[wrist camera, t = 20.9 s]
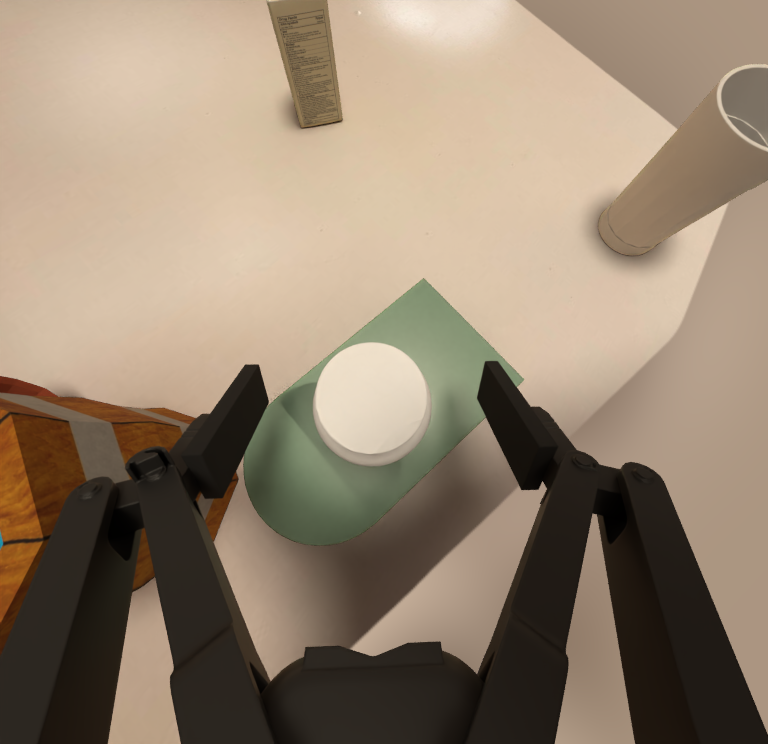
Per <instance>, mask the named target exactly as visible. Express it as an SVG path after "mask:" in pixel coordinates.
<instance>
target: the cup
mask: <svg viewBox="0 0 768 744" xmlns="http://www.w3.org/2000/svg"><path fill="white" fill-rule="evenodd" d="M767 180H768V65H764V64H752V65H746V66H741V67H738V68H736V69H734V70H732V71H730V72H729V73H727V74H726V75H725V76H724V77H723V78H722V79H721V81H720V82H719V83H718V84H717V85H716V86H715V87H714V89H713V90H712V91H711V92H710V93H709V94H708V95H707V97H706V98H705V99H704V100H703V101H702V103H701V104H700V105H699V106H698V107H697V108H696V109H695V110H694V111H693V113H692V114H691V115H690V116H689V117H688V118H687V120H686V121H685V122H684V123H683V124H682V125H681V126H680V128H679V129H678V130H677V131H676V132H675V133H674V134H673V136H672V137H671V138H670V139H669V140H668V141H667V142H666V143H665V145H664V146H663V147H662V148H661V149H660V150H659V151H658V152H657V154H656V155H655V156H654V157H653V158H652V159H651V160H650V161H649V163H648V164H647V165H646V166H645V167H644V168H643V169H642V170H641V172H640V173H639V174H638V175H637V176H636V177H635V178H634V179H633V181H632V182H631V183H630V184H629V185H628V186H627V187H626V188H625V190H624V191H623V192H622V193H621V194H620V195H619V196H618V197H617V199H616V200H615V201H614V202H613V203H612V204H611V205H610V206H609V207H608V208H607V209H606V210H605V211H604V212H603V213H602V214H601V216H600V218H599V222H598V228H599V232H600V235H601V237H602V239H603V240H604V242H605V243H606V244H607V245H608V246H609V247H610V248H612V249H613V250H615V251H617V252H619V253H621V254H624V255H630V256H636V255H641V254H644V253H646V252H648V251H649V250H651V249H652V248H653V247H655V246H656V245H658V244H659V243H661V242H662V241H663V240H665V239H667V238H668V237H670V236H672V235H673V234H675V233H677V232H678V231H680V230H682V229H683V228H685V227H687V226H689V225H690V224H692V223H694V222H695V221H697V220H699V219H700V218H702V217H704V216H705V215H707V214H709V213H711V212H712V211H714V210H716V209H717V208H719V207H721V206H722V205H724V204H726V203H727V202H729V201H731V200H732V199H734V198H736V197H737V196H739V195H741V194H742V193H744V192H746V191H748V190H750V189H753V188H755V187H757V186H758V185H760V184H762V183H764V182H765V181H767Z"/></svg>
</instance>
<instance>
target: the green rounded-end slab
mask: <svg viewBox="0 0 768 744" xmlns="http://www.w3.org/2000/svg"><path fill="white" fill-rule="evenodd" d="M368 342H375V343H383V344H387V345H390V346H393V347H395V348H397V349H399V350H401V351H402V352H404V353H405V354H406V355H408V356H409V357H410V358H411V359H412V360H413V361H414V362H415V364H416V365H417V366H418V368H419V369H420V371H421V373H422V374H423V376H424V378H425V380H426V382H427V384H428V387H429V390H430V394H431V403H432V409H431V417H430V422H429V425H428V428H427V430H426V432H425V434H424V436H423V438H422V439H421V441H420V442H419V444H418V445H417V446H416V447H415V448H414V449H413V450H412V451H411V452H410V453H409V454H407V455H406V456H405V457H403V458H401V459H400V460H398V461H395V462H393V463H390V464H387V465H383V466H373V467H370V466H361V465H357V464H353V463H351V462H348V461H346V460H344V459H342V458H341V457H339V456H338V455H336V454H335V453H334V452H333V451H332V450H330V449H329V448H328V446H327V445H326V444H325V443H324V442H323V440H322V438H321V437H320V435H319V433H318V430H317V428H316V425H315V422H314V417H313V397H314V393H315V389H316V386H317V382H318V379H319V377H320V375H321V373H322V371H323V369H324V368H325V366H326V365H327V363H328V362H329V361H330V360H331V359H332V358H333V357H334V356H335V355H337V354H338V353H339V352H341V351H342V350H344V349H346V348H348V347H350V346H353V345H356V344H360V343H368ZM485 361H498V362H499V363H500V365H501V366H502V367H503V369H504V370H505V372H506V373H507V374H508V376H509V377H510V379H511V380H512V381H513V383H514V384H515V386H516V387H517V386H519V385H520V384H521V383H522V382H523V381H524V379H523V378H522V377H521V376H520V375H519V374H518V373H517V372H516V371H515V370H514V369H513V368H512V367H511V366H510V365H509V364H508V363H507V362H506V361H505V360H504V359H503V358H502V357H501V356H500V355H499V354H498V353H497V352H496V350H495V349H494V348H493V347H492V346H491V345H490V344H489V343H488V342H487V341H486V340H485V339H484V338H483V337H482V336H481V335H480V334H479V333H478V332H477V331H476V330H475V329H474V328H473V327H472V326H471V325H470V324H469V323H468V322H467V321H466V320H465V319H464V318H463V317H462V316H461V315H460V314H459V313H458V312H457V311H456V310H455V309H454V308H453V307H452V306H451V305H450V304H449V303H448V302H447V301H446V300H445V299H444V298H443V297H442V296H441V295H440V294H439V293H438V292H437V291H436V290H435V289H434V288H433V287H432V286H431V285H430V284H429V283H428V282H427V281H426V280H425V279H424V278H423V279H422V280H421V281H420V282H418V283H417V284H416V285H415V286H414V287H412V288H411V289H410V290H409V291H407V292H406V293H405V294H404V295H402V296H401V297H400V298H399V299H398V300H396V301H395V302H394V303H393V304H391V305H390V306H389V307H388V308H387V309H385V310H384V311H383V312H382V313H380V314H379V315H378V316H377V317H375V318H374V319H373V320H372V321H371V322H369V323H368V324H367V325H366V326H364V327H363V328H362V329H361V330H359V331H358V332H357V333H356V334H355V335H353V336H352V337H351V338H350V339H348V340H347V341H346V342H345V343H344V344H342V345H341V346H340V347H339V348H337V349H336V350H335V351H334V352H332V353H331V354H330V355H329V356H328V357H326V358H325V359H324V360H323V361H321V362H320V363H319V364H318V365H317V366H315V367H314V368H313V369H312V370H310V371H309V372H308V373H307V374H305V375H304V376H303V377H302V378H301V379H299V380H298V381H297V382H296V383H294V384H293V385H292V386H291V387H290V388H288V389H287V390H286V391H285V392H283V393H282V394H281V395H280V396H278V397H277V398H276V399H275V400H274V401H273V402H272V403H271V404H270V405H269V406H268V407H267V408H266V409H265V411H264V414H263V416H262V418H261V420H260V422H259V424H258V426H257V428H256V430H255V432H254V434H253V437H252V439H251V441H250V443H249V445H248V447H247V449H246V451H245V453H244V464H243V465H244V479H245V485H246V489H247V492H248V495H249V498H250V500H251V502H252V504H253V506H254V508H255V510H256V511H257V513H258V514H259V516H260V517H261V518H262V519H263V520H264V522H265V523H266V524H267V525H268V526H270V527H271V528H272V529H273V530H274V531H276V532H277V533H279V534H280V535H282V536H283V537H286V538H288V539H290V540H292V541H295V542H298V543H302V544H307V545H314V546H326V545H333V544H338V543H341V542H345V541H348V540H350V539H352V538H354V537H357V536H359V535H360V534H362V533H363V532H365V531H366V530H368V529H369V528H370V527H371V526H373V525H374V524H375V523H376V522H377V521H378V520H379V519H380V518H382V517H383V516H384V515H385V514H386V513H387V512H388V511H389V510H390V509H391V508H392V507H393V506H394V505H395V504H396V503H397V502H398V501H399V500H400V499H401V498H402V497H403V496H404V495H405V494H406V493H407V492H408V491H410V490H411V489H412V488H413V487H414V486H415V485H416V484H417V483H418V482H419V481H420V480H421V479H422V478H423V477H424V476H425V475H426V474H427V473H428V472H429V471H430V470H431V469H432V468H433V467H434V466H435V465H437V464H438V463H439V462H440V461H441V460H442V459H443V458H444V457H445V456H446V455H447V454H448V453H449V452H450V451H451V450H452V449H453V448H454V447H455V446H456V445H457V444H458V443H459V442H460V441H461V440H462V439H464V438H465V437H466V436H467V435H468V434H469V433H470V432H471V431H472V430H473V429H474V428H475V427H476V426H477V425H478V424H479V423H480V422H481V421H482V420H483V419H484V418H485V417H486V416H485V414H484V412H483V410H482V408H481V406H480V404H479V402H478V400H477V395H478V390H479V386H480V381H481V377H482V372H483V368H484V363H485Z"/></svg>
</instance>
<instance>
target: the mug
mask: <svg viewBox="0 0 768 744" xmlns="http://www.w3.org/2000/svg"><path fill="white" fill-rule="evenodd" d="M195 419H196V418H193V417H190V416H187V415H184V414H181V413H178V412H175V411H172V410H169V409H166V408H149V409H140V408H131V407H122V406H116V405H111V404H107V403H102V402H98V401H94V400H89V399H85V398H78V397H58V396H56V395H55V394H53V393H52V392H50V391H49V390H47V389H45V388H43V387H40V386H37V385H33V384H30V383H27V382H24V381H21V380H18V379H13V378H8V377H2V376H0V655H1V653H2V651H3V648H4V646H5V643H6V641H7V639H8V636H9V634H10V631H11V629H12V627H13V624H14V622H15V620H16V617H17V615H18V612H19V610H20V608H21V605H22V603H23V600H24V598H25V596H26V593H27V591H28V589H29V586H30V584H31V581H32V579H33V577H34V574H35V572H36V569H37V567H38V565H39V562H40V560H41V558H42V555H43V553H44V550H45V548H46V546H47V543H48V541H49V538H50V536H51V534H52V531H53V529H54V526H55V524H56V522H57V519H58V517H59V515H60V512H61V510H62V507H63V505H64V503H65V500H66V498H67V497H68V495H69V494H70V493H71V492H72V491H73V490H74V489H75V488H76V487H78V486H79V485H81V484H82V483H84V482H86V481H88V480H91V479H93V478H97V477H102V476H104V477H109V478H110V479H112V480H113V482H114V483H118V482H122V481H126V480H130V479H132V478H131V477H130V475H129V474H128V473H127V471H126V470H125V465H126V463H127V462H128V460H129V459H130V458H131V457H132V456H134V455H135V454H136V453H138V452H140V451H142V450H143V449H146V448H149V447H154V446H161V447H165V449H166V450H167V451H168V453H169V451H170V450H171V449H172V447H173V446H174V445H175V443H176V442H177V441H178V439H179V438H181V436H182V434H183V433H184V432H185V431H186V429H187V428H188V426H189V425H190V424H191V422H192V421H193V420H195ZM237 481H238V477H237V474H236V472H235V474H234V476H233V478H232V480H231V482H230V485H229V487H228V489H227V491H226V493H225V495H224V497H223V498H221V499H205V498H204V496H203V495H202V493H201V491H200V492H199V494H198V496H197V497H196V501H197V503H198V505H199V507H200V510H201V512H202V515H203V517H204V520H205V522H206V525H207V528H208V530H209V533H210V535H211V538H212V540H213V541H214V539H215V536H216V534H217V531H218V529H219V526H220V524H221V521H222V519H223V516H224V514H225V511H226V509H227V506H228V504H229V501H230V499H231V496H232V494H233V491H234V489H235V486H236V484H237ZM154 577H155V574H154V569H153V564H152V560H151V555H150V550H149V545H148V541H147V536H146V531H145V528H143V529H142V534H141V540H140V546H139V552H138V559H137V565H136V571H135V577H134V583H133V590H132V592H134V591H136V590H138V589H139V588H141V587H142V586H144V585H145V584H146V583H147V582H149V581H150V580H151V579H153V578H154Z"/></svg>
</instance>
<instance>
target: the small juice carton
mask: <svg viewBox="0 0 768 744" xmlns="http://www.w3.org/2000/svg"><path fill="white" fill-rule="evenodd" d="M266 1H267V5H268V8H269V12H270V16H271V20H272V24H273V27H274V31H275V35H276V38H277V42H278V46H279V49H280V53H281V57H282V60H283V64H284V68H285V71H286V75H287V79H288V82H289V86H290V89H291V93H292V97H293V101H294V104H295V108H296V111H297V115H298V119H299V122H300V126H301V127H302V128H303V127H309V126H315V125H320V124H325V123H331V122H335V121H340V120H342V110H341V102H340V95H339V87H338V80H337V71H336V64H335V57H334V49H333V42H332V34H331V27H330V19H329V11H328V4H327V0H266Z"/></svg>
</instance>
